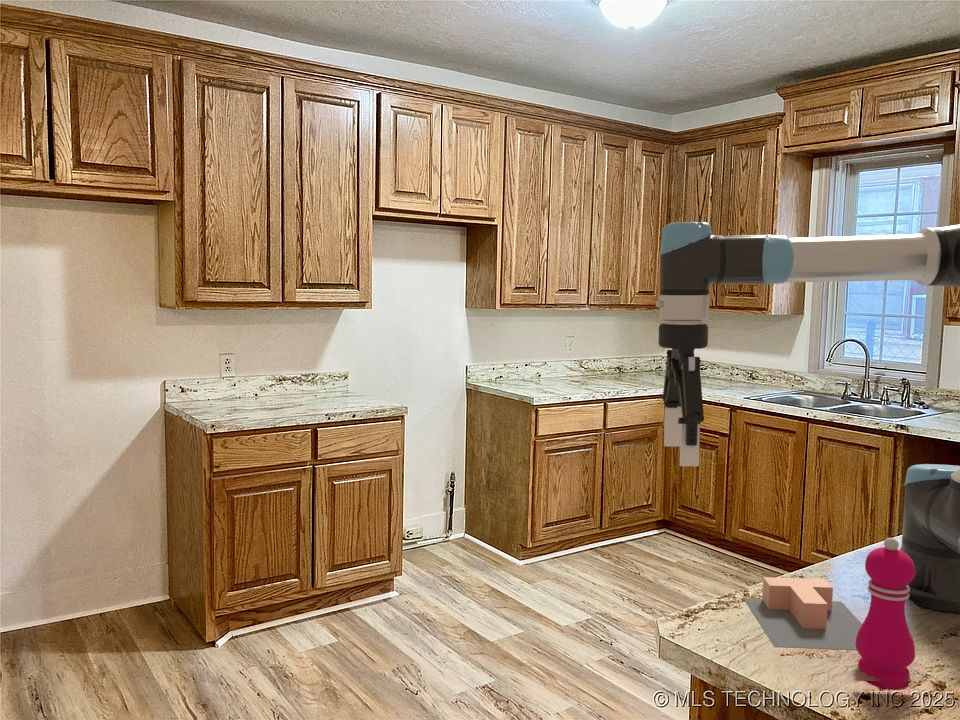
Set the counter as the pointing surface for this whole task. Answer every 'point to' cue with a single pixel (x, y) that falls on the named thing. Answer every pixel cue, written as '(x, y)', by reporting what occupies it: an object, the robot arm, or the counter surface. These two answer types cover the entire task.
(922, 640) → the counter surface
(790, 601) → the t block
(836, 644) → the mat
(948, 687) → the counter surface
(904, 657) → the pepper mill
